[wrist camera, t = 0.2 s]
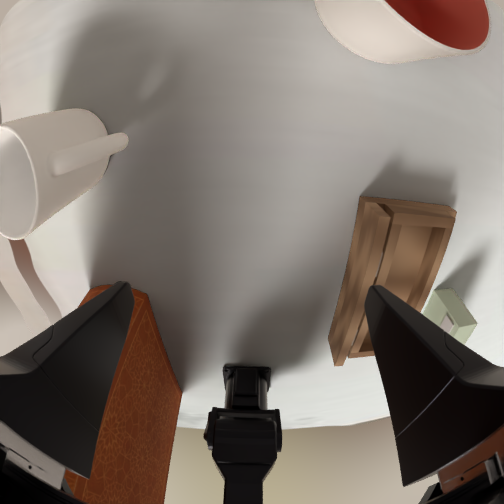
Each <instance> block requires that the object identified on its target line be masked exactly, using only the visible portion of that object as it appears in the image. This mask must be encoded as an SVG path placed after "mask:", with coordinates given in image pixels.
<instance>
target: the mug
mask: <svg viewBox="0 0 504 504" xmlns="http://www.w3.org/2000/svg"><path fill="white" fill-rule="evenodd" d="M128 142H129V139H128V136H127V135H126V134H125V133H115V134H111V135H108V133H107V130H106V128H105V126H104V124H103V123H102V121H101V120H100V119H99V118H98V117H97V116H96V115H95V114H93V113H92V112H90V111H88V110H85V109H78V108H74V109H65V110H59V111H54V112H48V113H43V114H38V115H34V116H29V117H25V118H21V119H17V120H13V121H9V122H6V123H2V124H0V234H1V235H3V236H4V237H6V238H9V239H12V240H19V239H23V238H25V237H27V236H28V235H29V234H30V233H32V232H33V231H34V230H35V229H36V228H38V227H39V226H40V225H41V224H43V223H44V222H45V221H47V220H48V219H49V218H51V217H52V216H53V215H54V214H56V213H57V212H59V211H60V210H61V209H63V208H64V207H65V206H67V205H68V204H70V203H71V202H72V201H74V200H75V199H77V198H78V197H80V196H81V195H83V194H84V193H86V192H87V191H89V190H90V189H91V188H93V187H94V186H95V185H96V184H97V183H98V182H99V181H100V179H101V178H102V177H103V175H104V173H105V171H106V168H107V166H108V162H109V157H110V155H113V154H115V153H117V152H119V151H121V150H123V149H125V148H126V146H127V145H128Z"/></svg>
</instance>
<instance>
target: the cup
mask: <svg viewBox="0 0 504 504" xmlns="http://www.w3.org/2000/svg"><path fill="white" fill-rule="evenodd" d="M315 6H316V10H317V13H318V15H319V17H320V19H321V21H322V23H323V25H324V26H325V28H326V29H327V30H328V31H329V33H330V34H331V35H332V36H333V37H334V38H335V39H336V40H337V41H338V42H339V43H340V44H342V45H343V46H344V47H346V48H347V49H348V50H350V51H352V52H353V53H355V54H357V55H359V56H361V57H363V58H366V59H368V60H371V61H375V62H379V63H385V64H399V63H405V62H410V61H416V60H423V59H430V58H438V57H447V56H459V55H471V54H474V53H477V52H479V51H480V50H481V49H483V48H484V47H485V45H486V44H487V42H488V40H489V37H490V32H491V19H490V13H489V9H488V6H487V3H486V0H315Z"/></svg>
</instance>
